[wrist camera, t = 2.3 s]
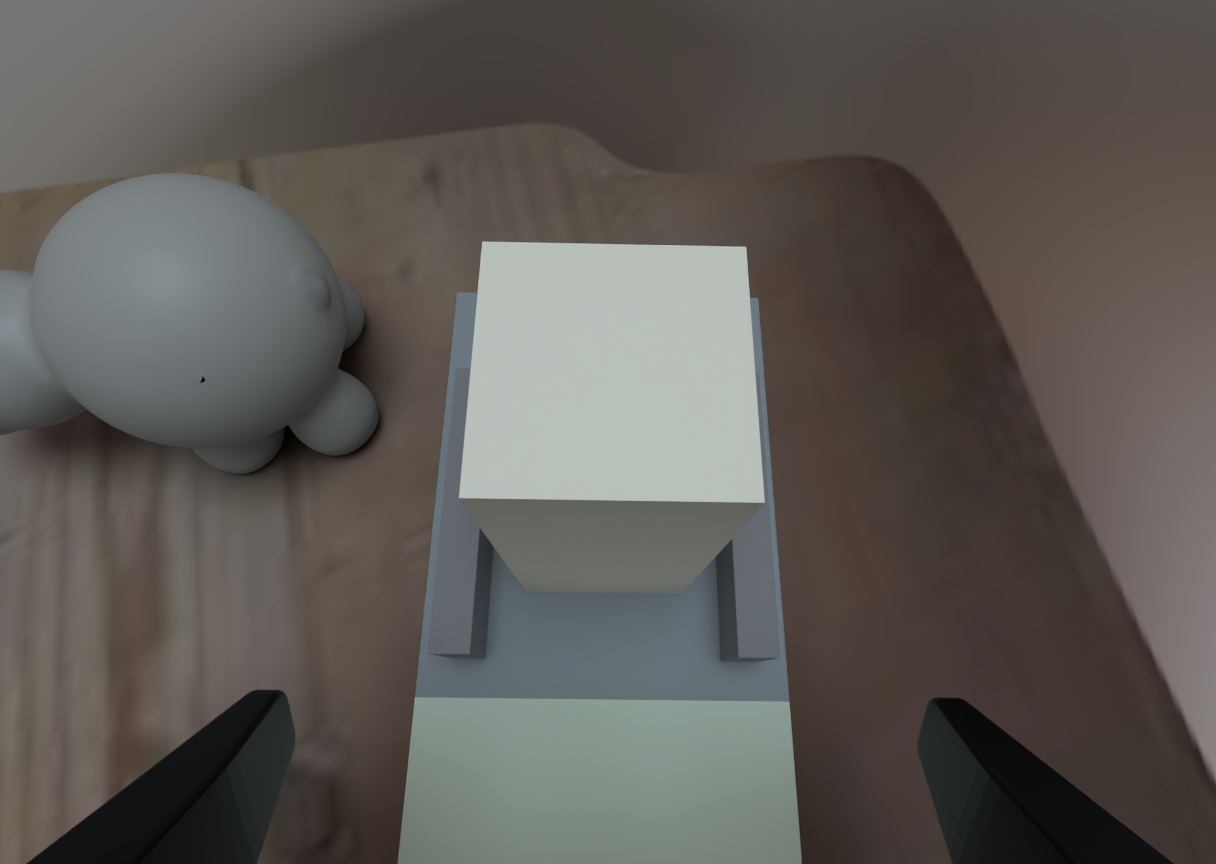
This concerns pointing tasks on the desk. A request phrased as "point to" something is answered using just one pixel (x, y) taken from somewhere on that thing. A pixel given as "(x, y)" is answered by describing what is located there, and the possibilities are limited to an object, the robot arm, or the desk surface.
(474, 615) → the channel
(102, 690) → the desk surface
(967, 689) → the desk surface
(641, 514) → the block
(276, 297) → the grey rounded figurine
